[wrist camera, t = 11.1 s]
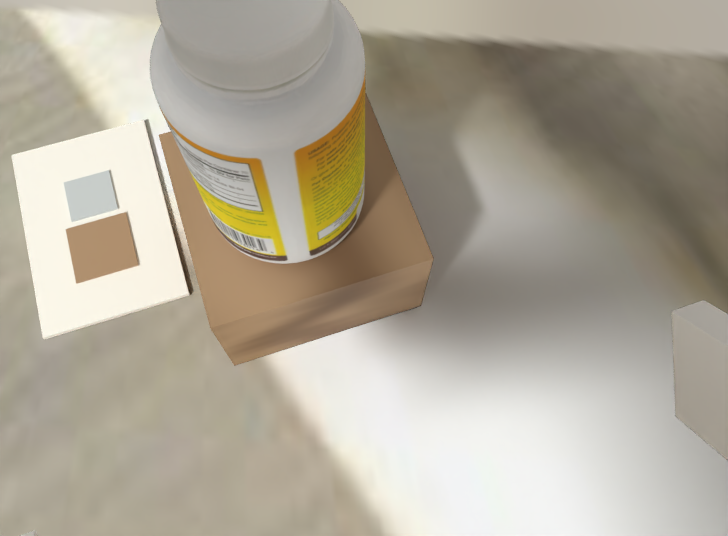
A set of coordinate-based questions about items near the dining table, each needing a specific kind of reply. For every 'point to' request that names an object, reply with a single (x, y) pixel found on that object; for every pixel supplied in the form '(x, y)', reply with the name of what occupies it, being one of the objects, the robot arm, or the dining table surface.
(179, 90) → the supplement bottle
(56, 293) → the page
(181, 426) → the dining table surface
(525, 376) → the dining table surface
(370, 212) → the base block
